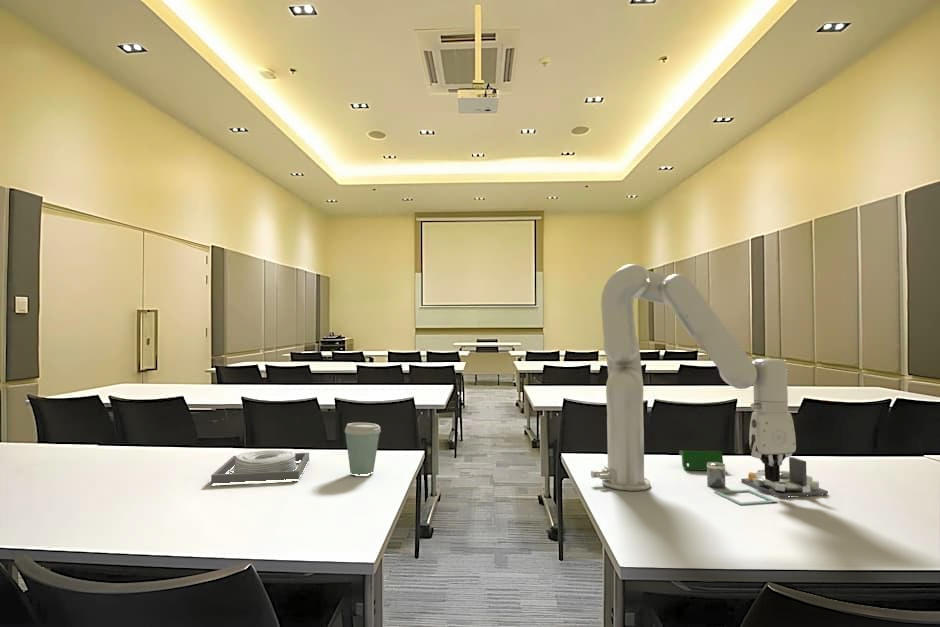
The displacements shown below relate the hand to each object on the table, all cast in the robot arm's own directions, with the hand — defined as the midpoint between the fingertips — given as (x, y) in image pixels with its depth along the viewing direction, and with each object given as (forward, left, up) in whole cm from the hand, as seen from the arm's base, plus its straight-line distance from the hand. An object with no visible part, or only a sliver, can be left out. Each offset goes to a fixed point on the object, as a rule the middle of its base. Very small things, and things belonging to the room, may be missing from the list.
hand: (772, 480), depth 135 cm
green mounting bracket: (-2, +28, -4) cm, 29 cm away
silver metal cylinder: (-8, +11, -4) cm, 14 cm away
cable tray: (-131, +48, -4) cm, 140 cm away
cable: (-131, +48, -5) cm, 139 cm away
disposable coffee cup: (-102, +41, -4) cm, 110 cm away
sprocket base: (+8, +6, -4) cm, 10 cm away
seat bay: (-7, +1, -4) cm, 8 cm away
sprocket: (+8, +6, -3) cm, 10 cm away
